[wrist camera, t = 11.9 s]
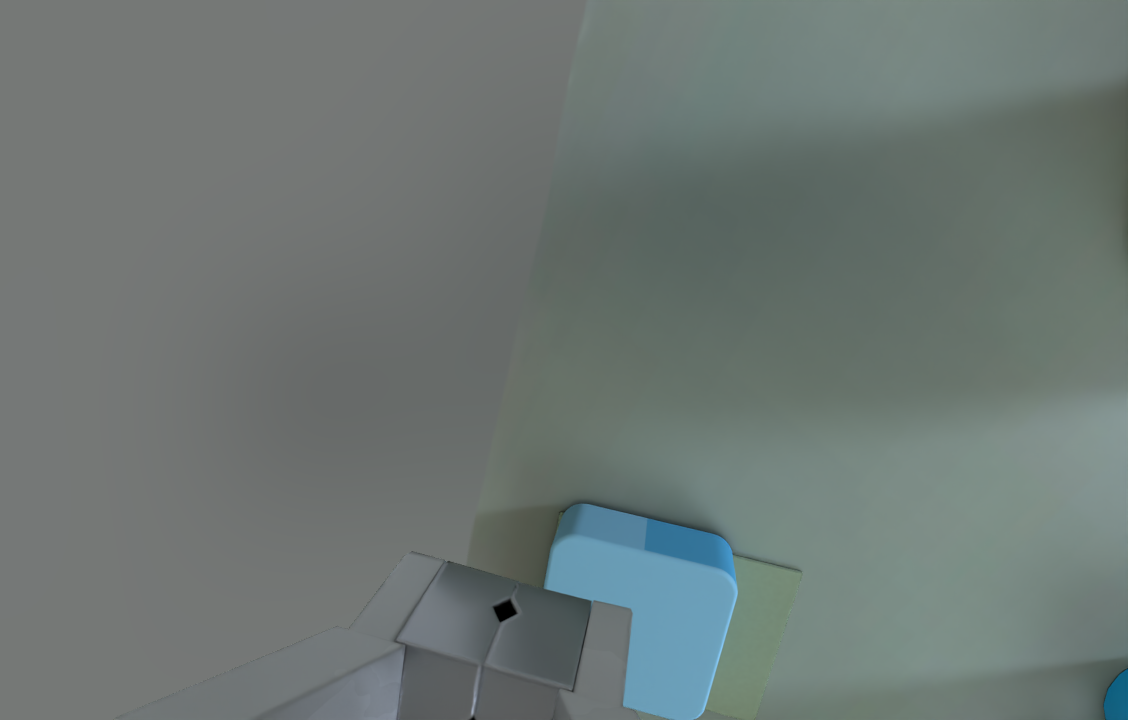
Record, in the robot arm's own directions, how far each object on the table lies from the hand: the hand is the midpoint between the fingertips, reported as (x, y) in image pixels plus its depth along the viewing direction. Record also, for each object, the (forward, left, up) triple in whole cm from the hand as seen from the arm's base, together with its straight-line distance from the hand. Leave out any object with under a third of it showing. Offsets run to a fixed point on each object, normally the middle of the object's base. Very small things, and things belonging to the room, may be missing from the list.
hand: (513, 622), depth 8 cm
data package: (-4, +16, -30) cm, 35 cm away
